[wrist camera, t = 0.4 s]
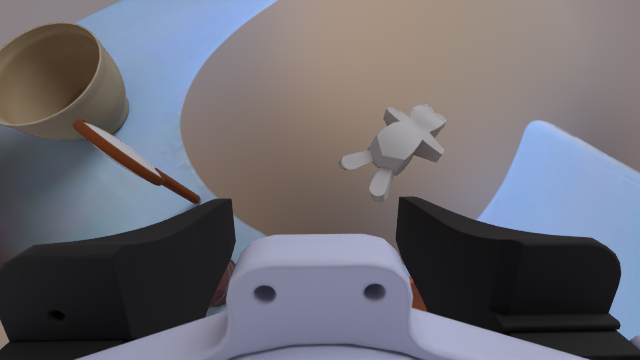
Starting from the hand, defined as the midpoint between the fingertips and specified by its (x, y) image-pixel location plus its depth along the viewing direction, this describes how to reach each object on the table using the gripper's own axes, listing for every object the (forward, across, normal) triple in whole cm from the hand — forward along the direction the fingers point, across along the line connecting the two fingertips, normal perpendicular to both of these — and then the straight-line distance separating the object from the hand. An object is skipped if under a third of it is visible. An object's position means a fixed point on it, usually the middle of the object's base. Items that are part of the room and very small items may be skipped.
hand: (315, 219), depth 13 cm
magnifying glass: (+28, +16, +11) cm, 34 cm away
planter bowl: (+39, +34, 0) cm, 52 cm away
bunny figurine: (+30, -11, +5) cm, 32 cm away
